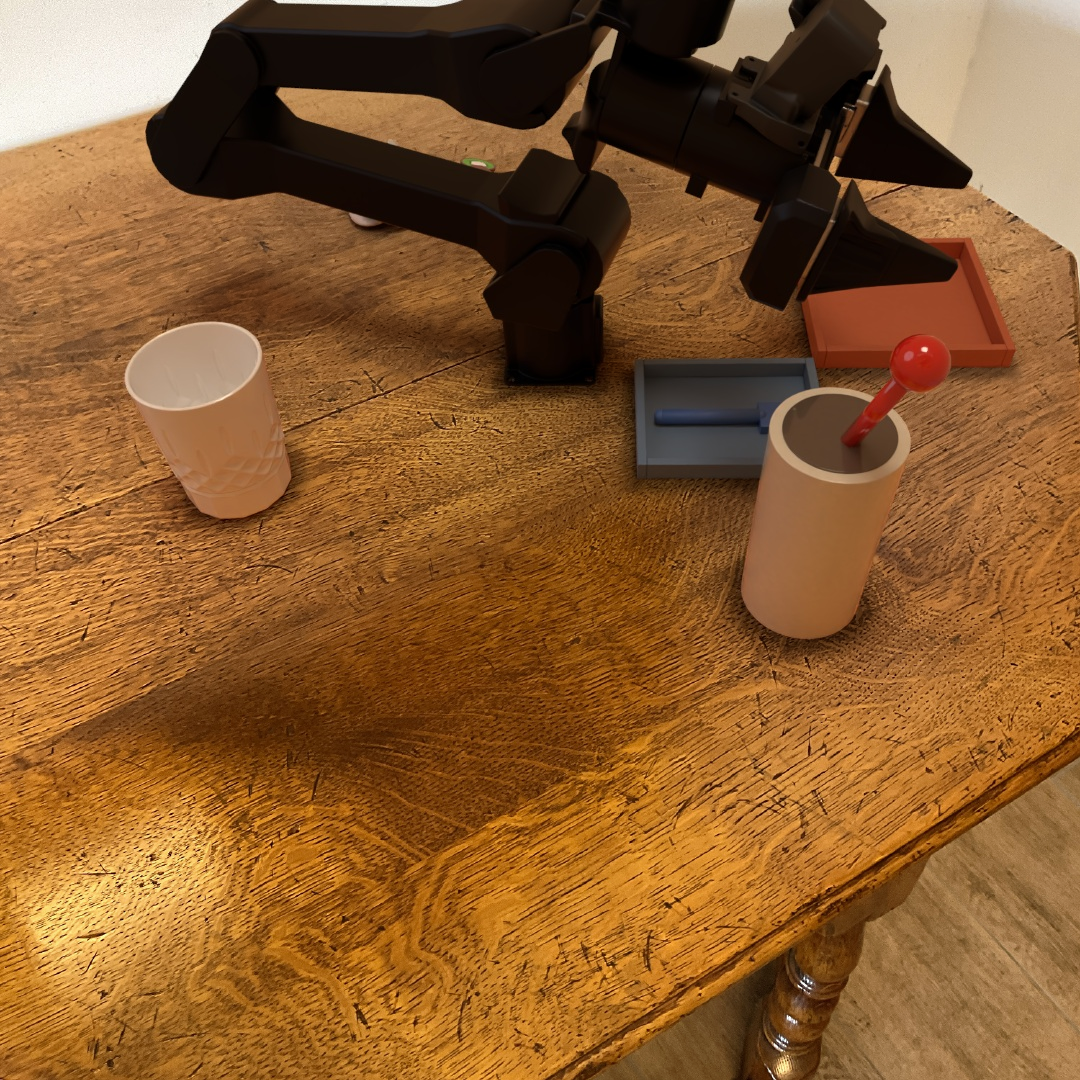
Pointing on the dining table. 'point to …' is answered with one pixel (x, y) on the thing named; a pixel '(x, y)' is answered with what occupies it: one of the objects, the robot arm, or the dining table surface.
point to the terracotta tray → (912, 317)
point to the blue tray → (709, 388)
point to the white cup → (213, 416)
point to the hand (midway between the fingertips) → (962, 224)
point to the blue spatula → (720, 416)
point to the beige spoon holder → (830, 495)
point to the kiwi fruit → (478, 164)
